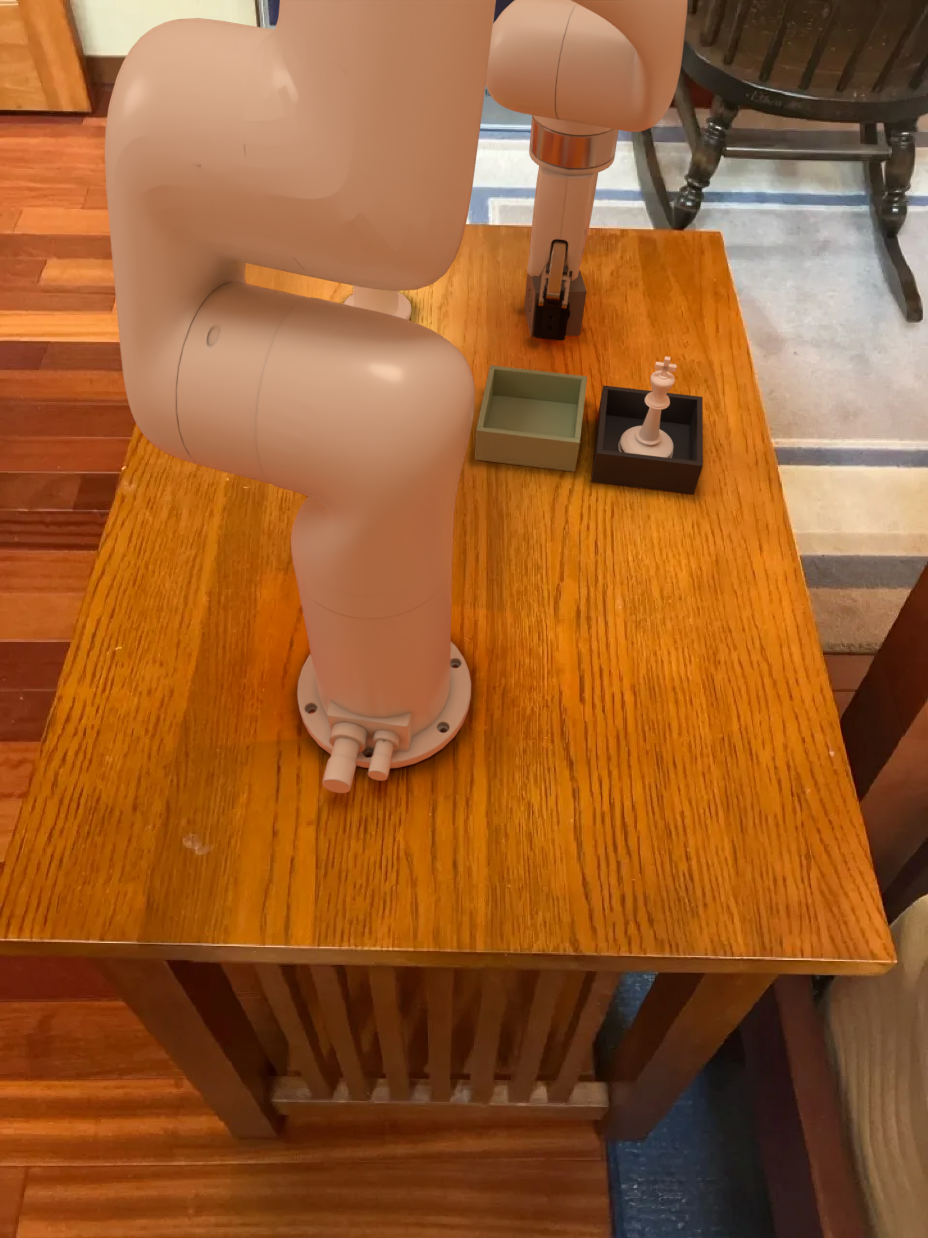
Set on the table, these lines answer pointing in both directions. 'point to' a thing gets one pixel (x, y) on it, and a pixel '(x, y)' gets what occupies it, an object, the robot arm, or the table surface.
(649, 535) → the table surface
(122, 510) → the table surface
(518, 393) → the sage bin
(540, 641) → the table surface
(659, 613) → the table surface
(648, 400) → the chess piece
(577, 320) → the dice cube
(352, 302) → the candle
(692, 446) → the charcoal bin
